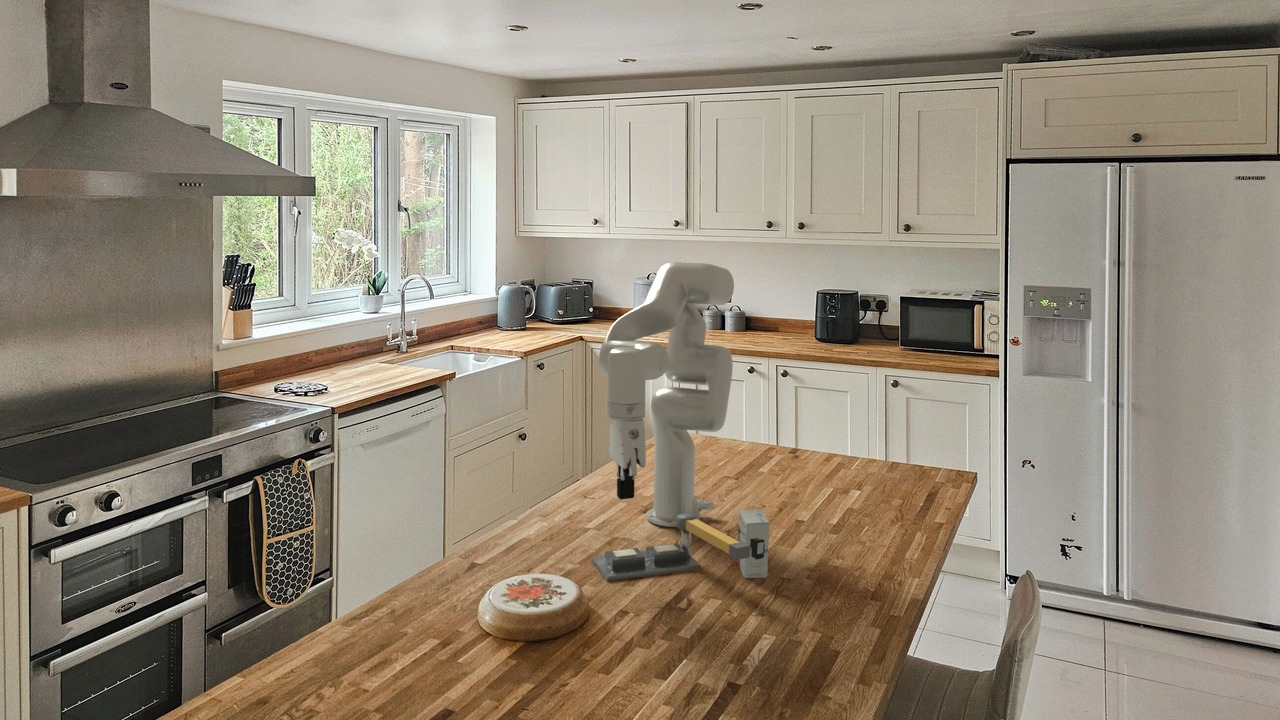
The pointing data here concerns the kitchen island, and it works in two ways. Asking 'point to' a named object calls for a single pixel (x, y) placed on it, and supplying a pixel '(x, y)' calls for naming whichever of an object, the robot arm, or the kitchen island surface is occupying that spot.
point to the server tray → (647, 560)
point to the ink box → (754, 542)
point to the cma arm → (713, 536)
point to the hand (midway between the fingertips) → (625, 497)
